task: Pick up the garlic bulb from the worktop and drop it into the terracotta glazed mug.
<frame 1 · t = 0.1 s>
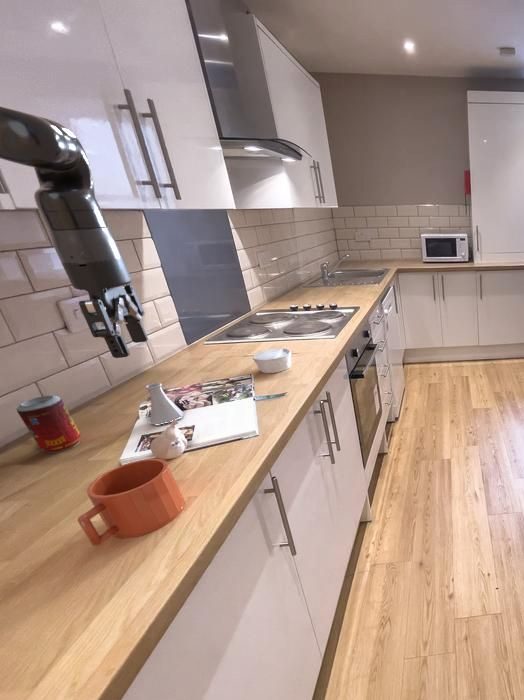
hand: (132, 349, 75), 28 cm above the counter, tool pointing down, fingers open, 8 cm apart
garlic bulb: (174, 456, 93), on the counter
ramekin: (276, 368, 139), on the counter
mug: (149, 515, 75), on the counter
soda can: (64, 446, 97), on the counter
flask: (168, 419, 108), on the counter
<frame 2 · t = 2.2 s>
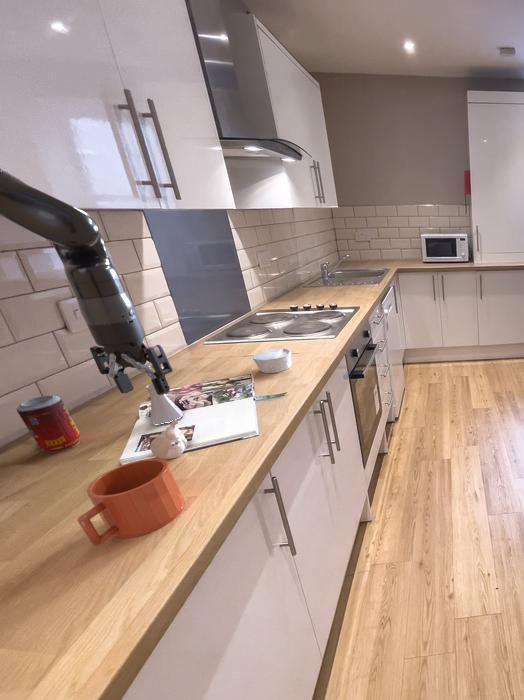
hand: (146, 392, 86), 16 cm above the counter, tool pointing down, fingers open, 8 cm apart
nothing on the counter moved.
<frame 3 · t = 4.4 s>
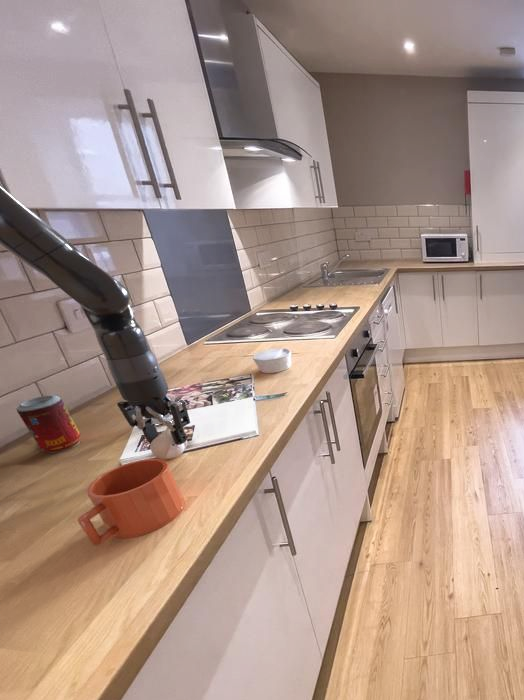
hand: (168, 441, 91), 4 cm above the counter, tool pointing down, fingers closed on garlic bulb, 6 cm apart
garlic bulb: (174, 456, 93), on the counter, touching gripper
everything else where it was.
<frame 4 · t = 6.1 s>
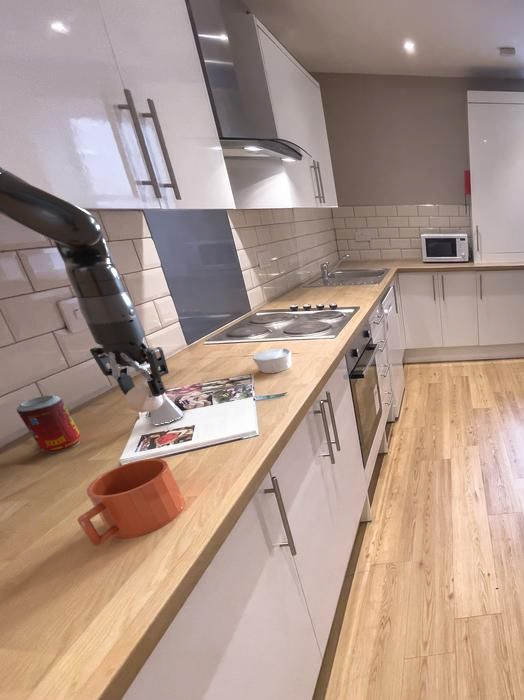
hand: (145, 393, 86), 16 cm above the counter, tool pointing down, fingers closed on garlic bulb, 6 cm apart
garlic bulb: (151, 410, 88), point 12 cm above the counter, touching gripper
everything else where it was.
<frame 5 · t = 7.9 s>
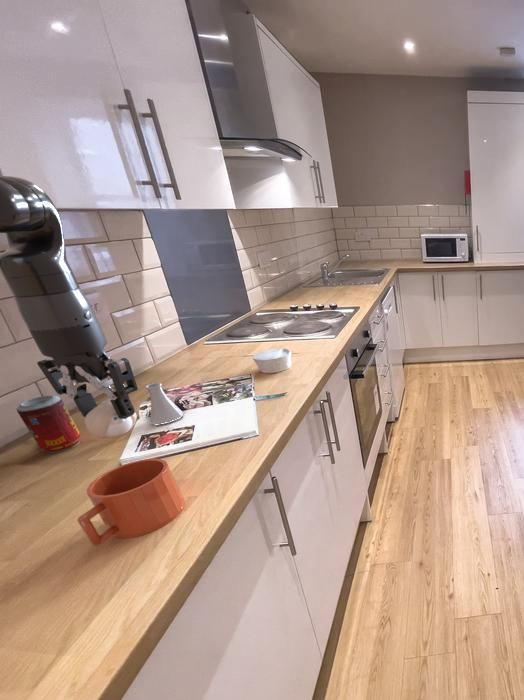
hand: (109, 415, 70), 20 cm above the counter, tool pointing down, fingers closed on garlic bulb, 6 cm apart
garlic bulb: (119, 434, 72), point 16 cm above the counter, touching gripper
everything else where it was.
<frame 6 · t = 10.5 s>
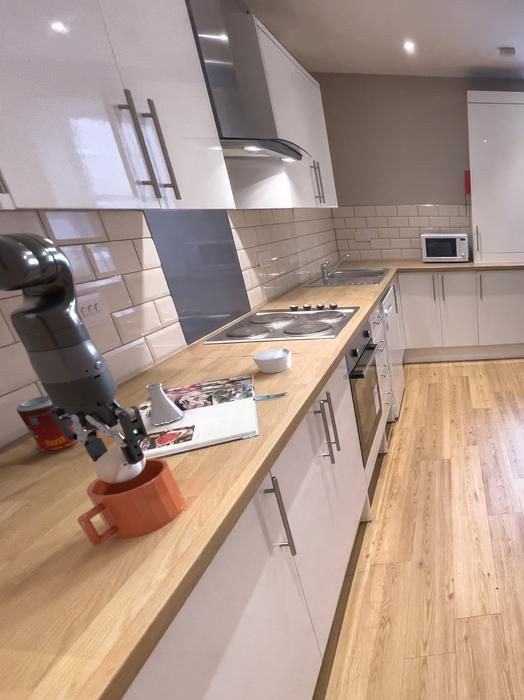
hand: (119, 460, 70), 13 cm above the counter, tool pointing down, fingers closed on garlic bulb, 6 cm apart
garlic bulb: (128, 478, 72), point 9 cm above the counter, touching gripper
everything else where it was.
when the fingers open (10 cm above the counter, at t = 11.8 s): garlic bulb drops 6 cm, resting on mug.
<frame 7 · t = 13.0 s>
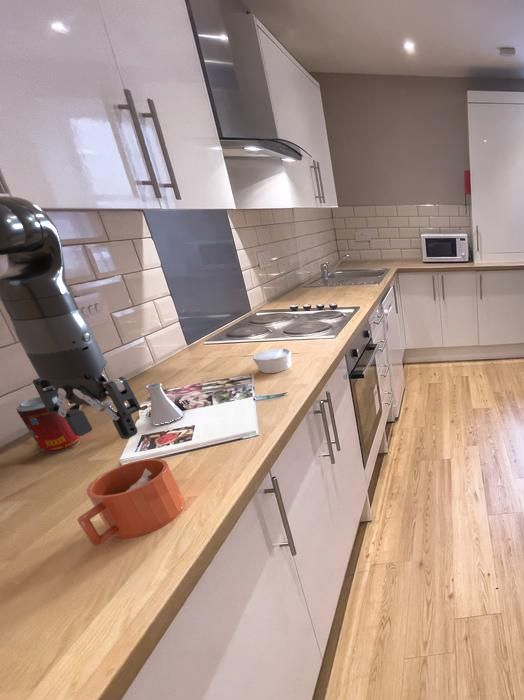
hand: (107, 434, 68), 18 cm above the counter, tool pointing down, fingers open, 8 cm apart
garlic bulb: (147, 514, 75), resting on mug
everything else where it was.
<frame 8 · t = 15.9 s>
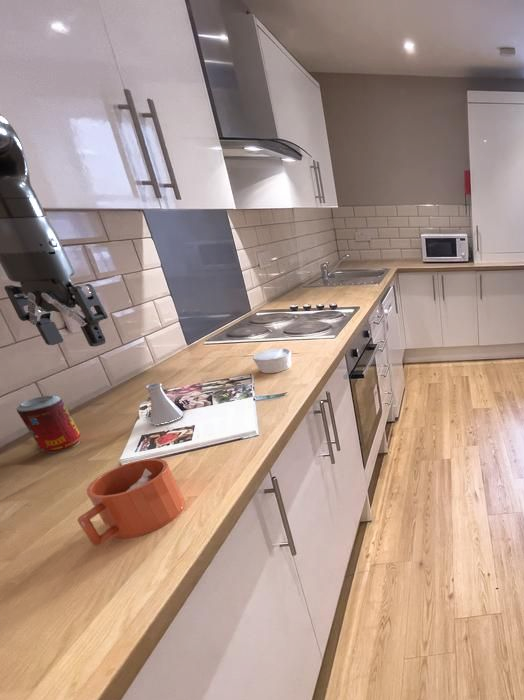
hand: (77, 344, 72), 30 cm above the counter, tool pointing down, fingers open, 8 cm apart
nothing on the counter moved.
at the end: garlic bulb inside the target area in the mug (0.2 cm from its centre), point 0.4 cm above the mug's base; the gripper is holding nothing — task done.
